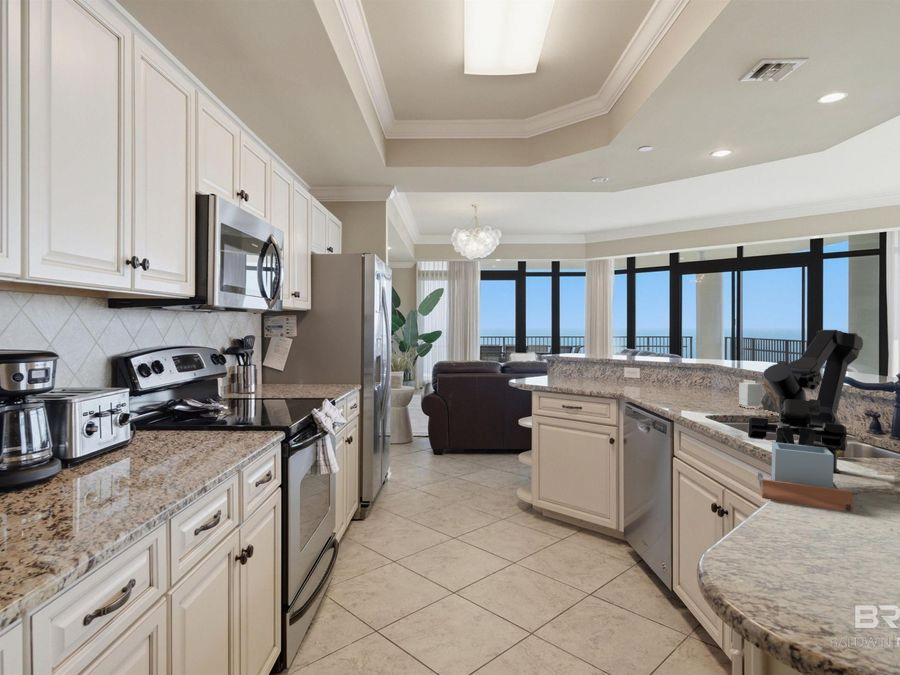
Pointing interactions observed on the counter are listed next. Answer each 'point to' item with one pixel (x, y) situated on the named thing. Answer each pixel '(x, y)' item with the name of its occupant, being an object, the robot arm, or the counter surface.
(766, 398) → the owl
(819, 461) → the box
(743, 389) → the supplement box
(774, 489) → the brown wooden tray
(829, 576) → the counter surface
